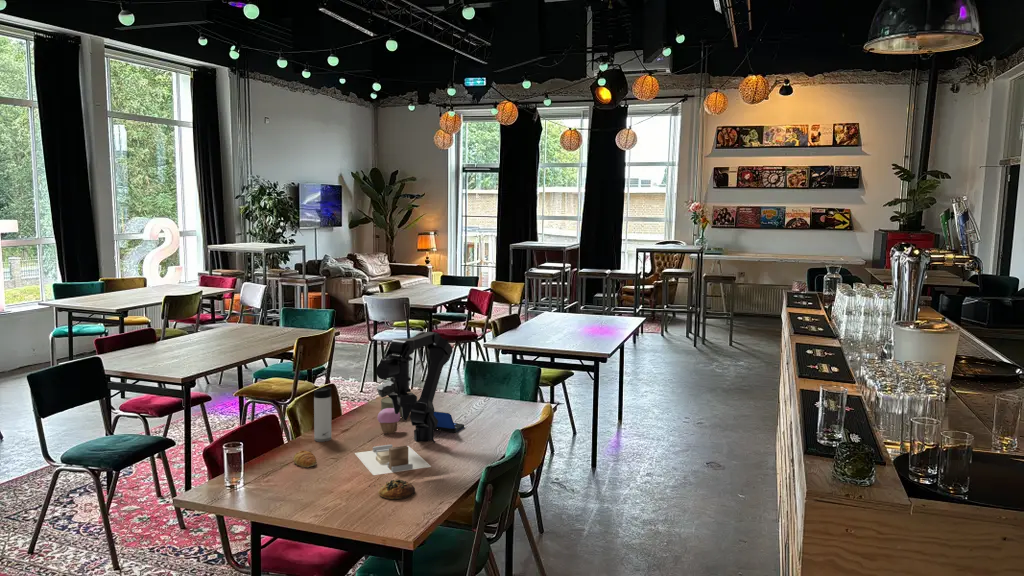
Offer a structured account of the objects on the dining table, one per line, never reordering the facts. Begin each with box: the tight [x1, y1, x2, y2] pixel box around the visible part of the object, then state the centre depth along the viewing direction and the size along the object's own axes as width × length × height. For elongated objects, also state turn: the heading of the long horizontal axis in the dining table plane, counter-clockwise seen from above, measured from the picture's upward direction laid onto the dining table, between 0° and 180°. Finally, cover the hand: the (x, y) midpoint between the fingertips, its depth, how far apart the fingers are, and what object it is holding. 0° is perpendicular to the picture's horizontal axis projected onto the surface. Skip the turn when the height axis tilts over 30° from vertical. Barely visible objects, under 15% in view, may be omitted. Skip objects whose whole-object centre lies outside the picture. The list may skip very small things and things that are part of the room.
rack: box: [354, 444, 432, 476], centre depth 243 cm, size 20×24×2 cm
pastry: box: [292, 450, 317, 468], centre depth 240 cm, size 9×7×4 cm
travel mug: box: [313, 387, 333, 443], centre depth 266 cm, size 6×7×20 cm
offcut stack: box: [376, 451, 389, 464], centre depth 243 cm, size 10×5×2 cm, turn 117°
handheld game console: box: [434, 410, 465, 434], centre depth 283 cm, size 16×13×9 cm
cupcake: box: [376, 408, 401, 435], centre depth 276 cm, size 9×9×10 cm
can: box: [380, 396, 402, 417], centre depth 302 cm, size 12×12×7 cm
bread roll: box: [377, 479, 416, 501], centre depth 216 cm, size 11×11×5 cm
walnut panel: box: [389, 445, 408, 470], centre depth 234 cm, size 6×2×7 cm, turn 117°
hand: (400, 417), depth 252 cm, fingers open, 9 cm apart
